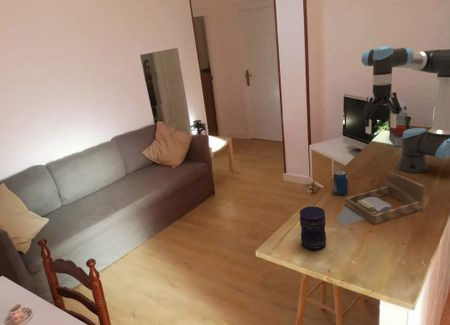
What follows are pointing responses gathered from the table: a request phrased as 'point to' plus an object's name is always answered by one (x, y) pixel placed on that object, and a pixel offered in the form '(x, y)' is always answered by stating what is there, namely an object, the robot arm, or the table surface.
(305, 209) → the storage jar
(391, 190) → the wooden tray
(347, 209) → the mat
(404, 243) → the table surface
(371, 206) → the offcut short
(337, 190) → the soda can
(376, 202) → the stone block
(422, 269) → the table surface
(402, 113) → the grey red bottle
